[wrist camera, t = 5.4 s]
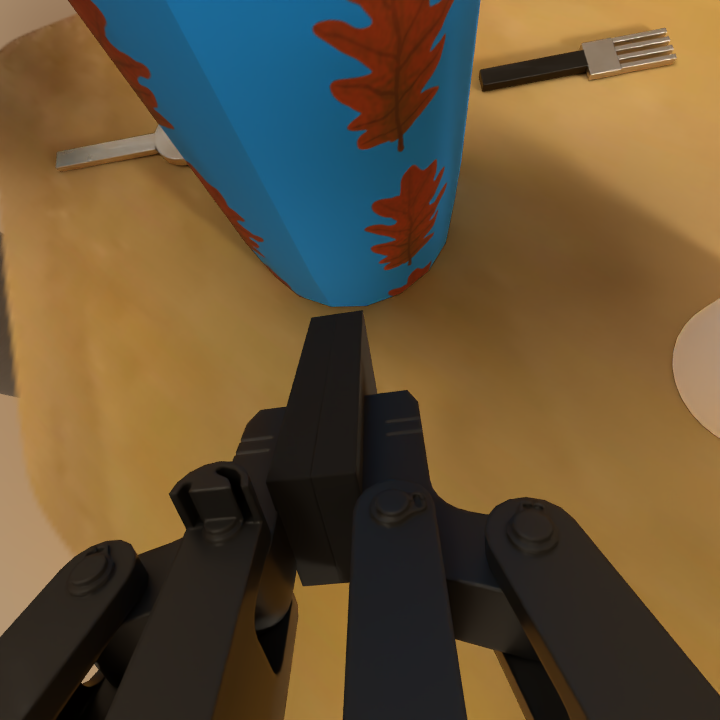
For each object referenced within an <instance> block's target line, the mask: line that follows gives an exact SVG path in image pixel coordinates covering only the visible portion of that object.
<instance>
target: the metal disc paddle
mask: <svg viewBox="0 0 720 720" xmlns="http://www.w3.org/2000/svg"><path fill="white" fill-rule="evenodd" d="M158 152H159V153H160V155H161V156H162V157H163V158H164V159H165V160H166V161H167V162H169V163H171V164H174V165H188V164H187V162H186V161H185V159H184V158H183V157H182V155H181V154H180V153H179V151H178V150H177V148H176V147H175V146H174V144H173V143H172V142H171V140H170V139H169V138H168V136H167V135H166V133H165V132H164V131H163V129H162V128H161V127H160V125H158V126H157V128H156V131H155V133H152V134H147V135H142V136H137V137H131V138H126V139H121V140H116V141H111V142H105V143H100V144H95V145H90V146H85V147H79V148H74V149H69V150H64V151H59V152H57V157H56V169H57V170H58V171H60V172H63V171H68V170H73V169H79V168H84V167H89V166H94V165H100V164H105V163H110V162H116V161H121V160H126V159H132V158H137V157H142V156H148V155H153V154H158Z"/></svg>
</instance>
